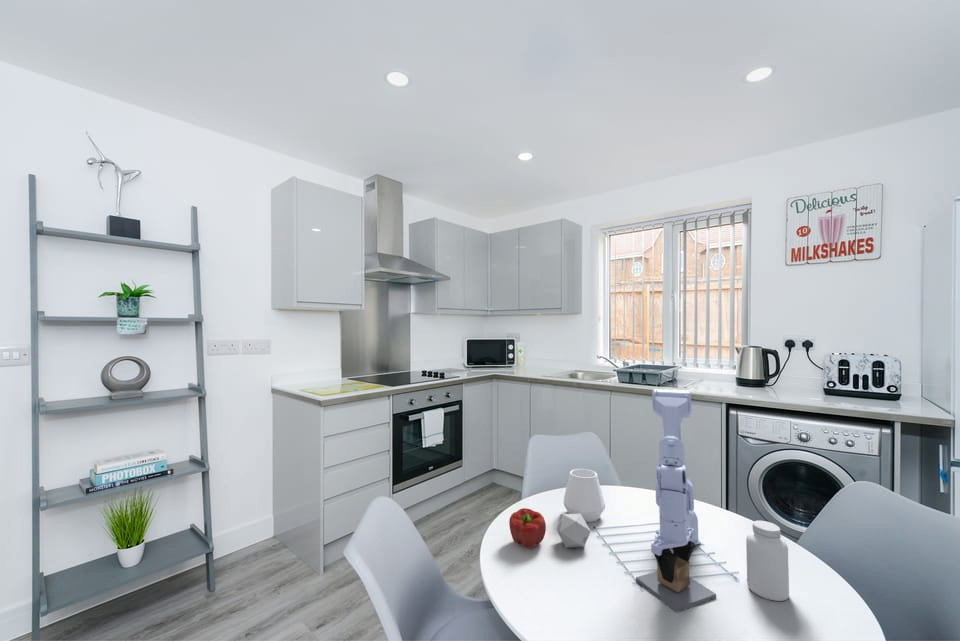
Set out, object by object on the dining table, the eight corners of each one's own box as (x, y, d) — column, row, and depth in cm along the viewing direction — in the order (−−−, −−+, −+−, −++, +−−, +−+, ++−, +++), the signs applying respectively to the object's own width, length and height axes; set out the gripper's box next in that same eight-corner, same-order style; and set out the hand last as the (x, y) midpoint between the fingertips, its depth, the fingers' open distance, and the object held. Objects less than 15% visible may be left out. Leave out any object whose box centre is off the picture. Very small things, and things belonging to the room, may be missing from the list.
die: (583, 559, 109) (599, 523, 112) (553, 540, 110) (569, 505, 114) (576, 554, 117) (591, 521, 120) (548, 536, 118) (563, 504, 122)
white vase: (611, 525, 127) (610, 480, 127) (568, 525, 127) (567, 480, 127) (599, 506, 140) (598, 466, 140) (560, 507, 140) (559, 466, 141)
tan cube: (669, 574, 98) (669, 553, 99) (690, 584, 94) (689, 562, 94) (657, 581, 96) (657, 559, 96) (678, 592, 91) (677, 569, 92)
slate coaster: (673, 569, 103) (672, 566, 103) (716, 597, 91) (716, 593, 91) (635, 580, 98) (635, 577, 98) (676, 611, 87) (676, 608, 87)
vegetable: (548, 555, 110) (547, 518, 110) (510, 555, 110) (509, 518, 110) (543, 535, 120) (543, 501, 121) (509, 535, 121) (508, 501, 121)
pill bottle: (791, 607, 88) (789, 537, 89) (747, 594, 92) (745, 528, 93) (787, 587, 95) (785, 522, 95) (746, 576, 99) (744, 514, 100)
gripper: (674, 503, 103) (675, 558, 102) (638, 519, 95) (640, 578, 94) (702, 514, 97) (703, 572, 96) (667, 531, 89) (668, 594, 88)
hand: (674, 576), depth 95 cm, fingers closed on tan cube, 5 cm apart
